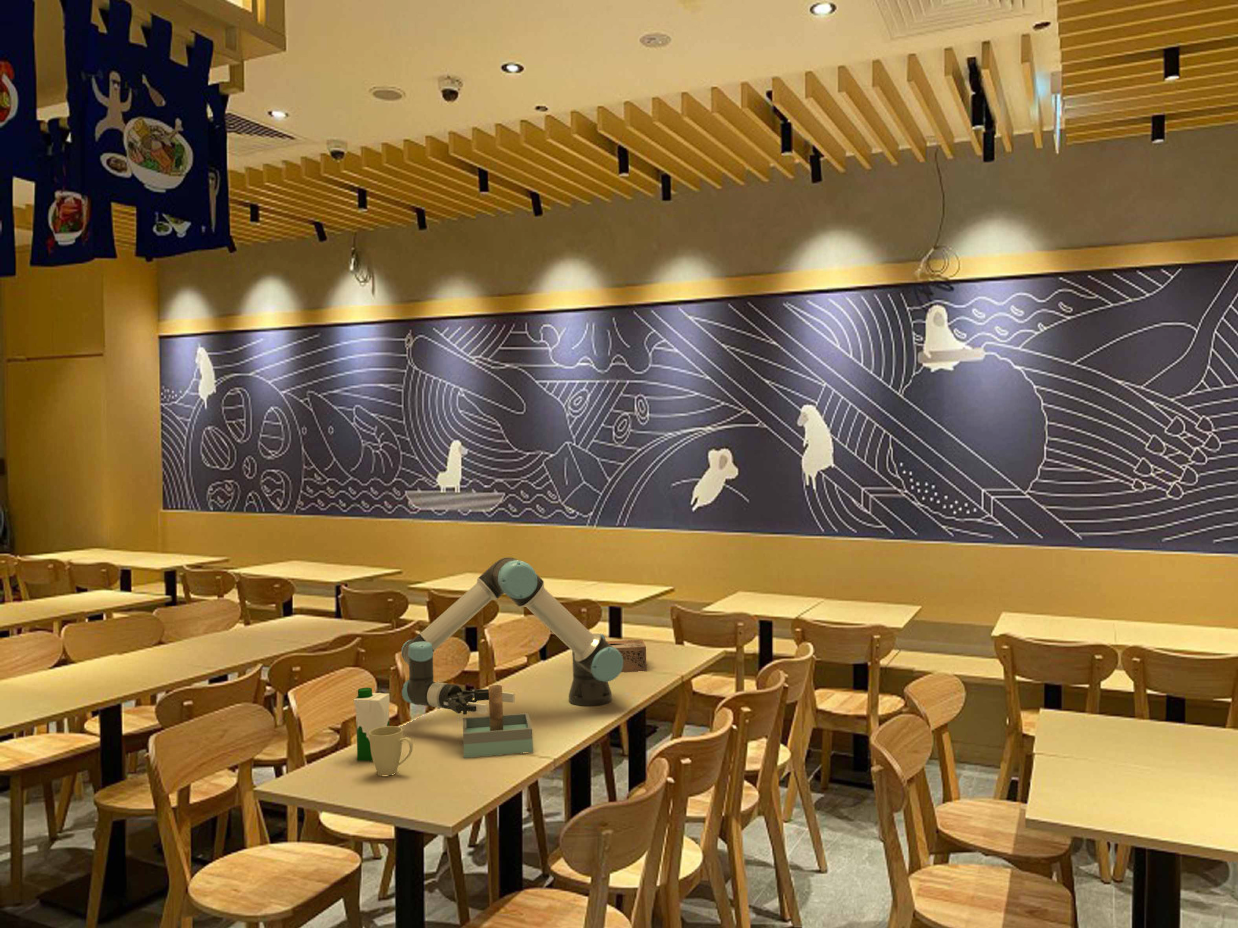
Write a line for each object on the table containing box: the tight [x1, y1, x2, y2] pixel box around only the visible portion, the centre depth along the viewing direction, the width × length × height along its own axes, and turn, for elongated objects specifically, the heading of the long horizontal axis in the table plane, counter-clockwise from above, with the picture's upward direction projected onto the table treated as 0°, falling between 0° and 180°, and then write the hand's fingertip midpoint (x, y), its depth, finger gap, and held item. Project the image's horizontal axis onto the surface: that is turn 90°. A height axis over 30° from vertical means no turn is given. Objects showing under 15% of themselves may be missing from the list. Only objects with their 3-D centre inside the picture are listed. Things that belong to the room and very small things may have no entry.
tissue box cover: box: [606, 639, 648, 673], centre depth 384 cm, size 26×14×10 cm, turn 95°
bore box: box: [462, 712, 534, 759], centre depth 288 cm, size 20×17×7 cm
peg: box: [488, 684, 504, 731], centre depth 288 cm, size 4×4×18 cm
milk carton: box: [353, 687, 390, 762], centre depth 281 cm, size 9×9×20 cm
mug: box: [369, 725, 414, 776], centre depth 266 cm, size 11×10×12 cm
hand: (500, 703), depth 287 cm, fingers open, 13 cm apart
